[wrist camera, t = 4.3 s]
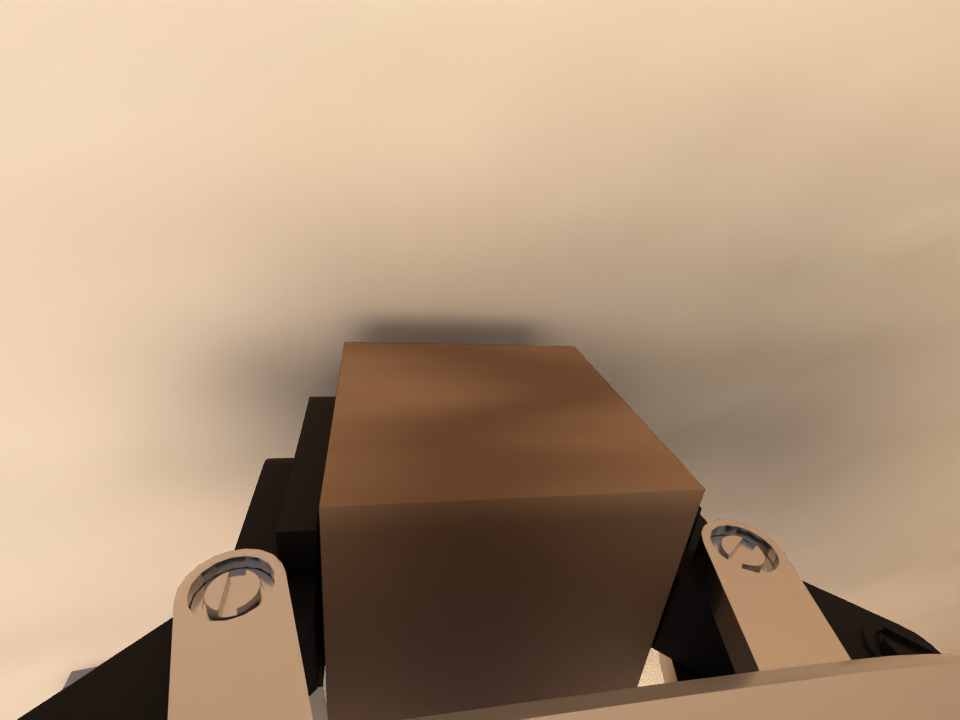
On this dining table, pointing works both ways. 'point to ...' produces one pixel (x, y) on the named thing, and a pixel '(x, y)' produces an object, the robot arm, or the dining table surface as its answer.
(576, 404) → the walnut cube
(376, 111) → the dining table surface
